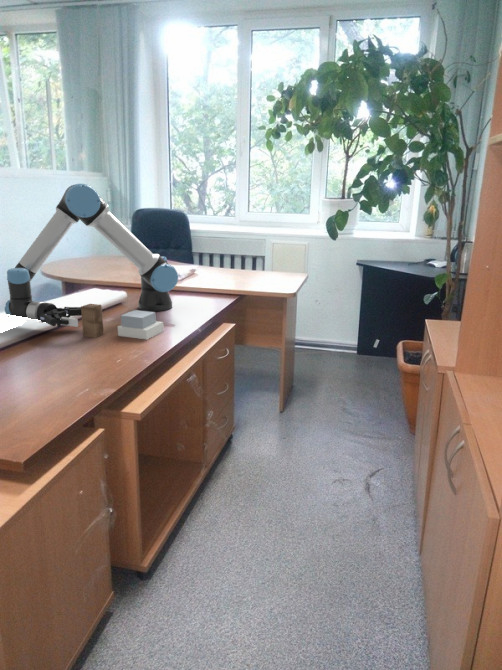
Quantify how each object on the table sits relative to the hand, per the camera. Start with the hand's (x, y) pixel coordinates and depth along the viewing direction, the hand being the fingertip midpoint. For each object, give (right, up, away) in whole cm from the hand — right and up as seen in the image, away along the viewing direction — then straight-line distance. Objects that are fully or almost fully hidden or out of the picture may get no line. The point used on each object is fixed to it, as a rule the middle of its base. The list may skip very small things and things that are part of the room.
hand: (90, 318), depth 172 cm
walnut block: (+1, -6, +2) cm, 6 cm away
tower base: (+17, -6, +6) cm, 19 cm away
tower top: (+16, -2, +5) cm, 17 cm away
